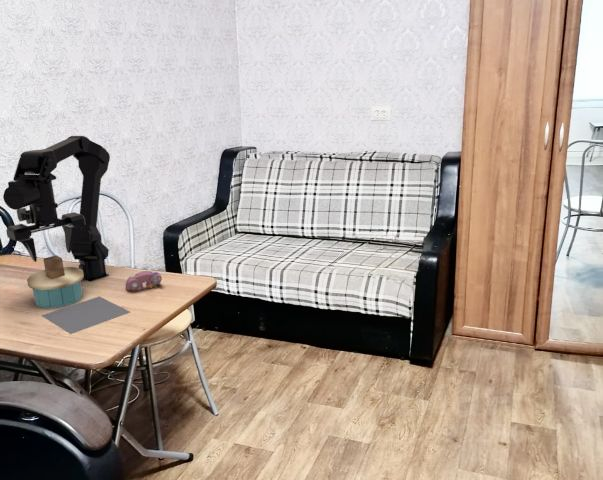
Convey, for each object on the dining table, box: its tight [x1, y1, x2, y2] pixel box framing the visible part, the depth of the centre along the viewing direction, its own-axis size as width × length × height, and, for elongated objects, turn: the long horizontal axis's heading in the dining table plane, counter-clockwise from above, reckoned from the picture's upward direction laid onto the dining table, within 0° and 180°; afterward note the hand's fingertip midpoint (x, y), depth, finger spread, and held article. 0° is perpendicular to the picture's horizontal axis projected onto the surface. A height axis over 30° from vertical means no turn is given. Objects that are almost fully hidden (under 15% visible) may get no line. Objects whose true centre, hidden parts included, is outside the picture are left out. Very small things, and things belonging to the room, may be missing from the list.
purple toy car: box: [125, 269, 163, 292], centre depth 163 cm, size 10×5×7 cm, turn 118°
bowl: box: [32, 280, 83, 309], centre depth 157 cm, size 12×12×6 cm
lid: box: [26, 254, 84, 290], centre depth 155 cm, size 14×14×6 cm
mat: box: [41, 296, 131, 335], centre depth 148 cm, size 16×16×1 cm
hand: (52, 256), depth 155 cm, fingers open, 9 cm apart
